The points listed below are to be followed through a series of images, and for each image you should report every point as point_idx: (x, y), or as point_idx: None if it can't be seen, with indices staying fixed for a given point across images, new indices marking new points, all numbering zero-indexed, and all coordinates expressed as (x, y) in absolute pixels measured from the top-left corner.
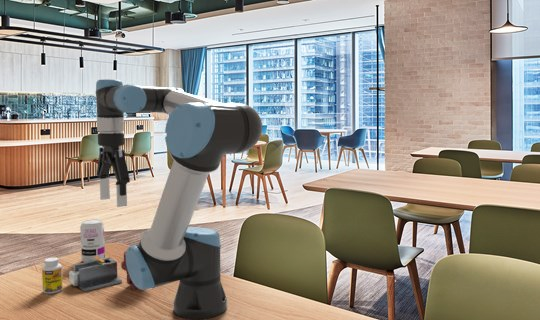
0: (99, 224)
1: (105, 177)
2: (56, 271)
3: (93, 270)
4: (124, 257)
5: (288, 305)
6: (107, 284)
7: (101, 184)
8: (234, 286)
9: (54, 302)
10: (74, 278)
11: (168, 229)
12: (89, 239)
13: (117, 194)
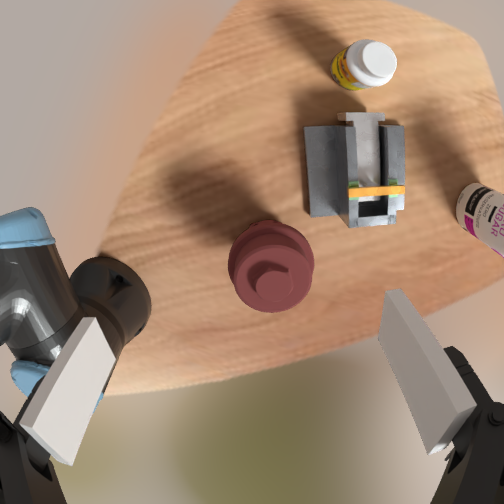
0: None
1: (457, 443)
2: (346, 67)
3: (344, 162)
4: (271, 241)
5: None
6: (308, 182)
7: (433, 378)
8: (174, 367)
9: (274, 58)
10: (343, 113)
11: None
12: (494, 211)
13: (50, 371)
